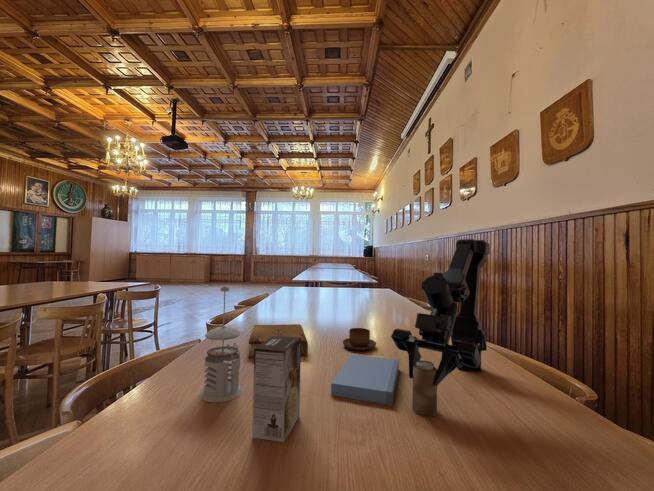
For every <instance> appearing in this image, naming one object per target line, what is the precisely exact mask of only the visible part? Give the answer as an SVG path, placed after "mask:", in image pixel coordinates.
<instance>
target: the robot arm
mask: <svg viewBox="0 0 654 491" xmlns="http://www.w3.org/2000/svg"><path fill="white" fill-rule="evenodd" d="M455 244H456V245H455V251H454V253H453V257H452V258H451V262H450V264H449V266H448V269H447V270H446V271H444V272H434V273H433V275H432V276H429V277H426V278H425V279H424V280H423V281H422V282H421V284H420V285H421V289H422V291H423V294H424V297H425V299H426V301H427V304H428V306H430V308H431V311H430V314H428V313H427V314H426V313H421V312H418V313H417V314H416V319H415V323H414V324H415V325H414V328H415V329H418V334H419V336H421V338H419V337H417V336H414V335H413V334H412V332H411V330H407V329H402V328H399V327H398V328H395V329H393V331H392V333H391V335H390V337H391V339H392V341H393V342H394V344H395V346H396V348H397V349H398V350H400V351H402V352H403V351H404V352H407V355H408V377H409V379H411V380H413V366H414V365H416V362H417V361H421V358H422V355H421V354H420V348H421V349H425V350H430V351H434V352H438V353H441V358H440V362H439V365H438V367H437V372H436V375H435V379H434V386H437V387H438V385H439V384H441V382H442V381H444V379H446V377H448V375H449V374H450V373H452V372H453V371H454V370H456V369H458V370H461V371H468V372H475V373H483V369H482V352H484V351H487V349H488V348H487V346H488V345H487V340H486V339H487V338H486V335H485V332H484V330H483V324H482V322H481V321H480V319H479V317H478V305H479V304H478V303H479V290H480V278H481V268H483V267H484V265H485V264H486V263H487V261H488V256H489V255H490V251H491V250H490V249H491V247H490V243H488V242H487V241H486V240H485V239H472V238H468V239H467V238H464V239H463V238H461V239H458V240H456V243H455ZM457 303H460V311H459V307H458V305H457ZM458 311H459V313H458ZM450 339H451V340H450ZM450 341H451V344H449V343H450Z"/></svg>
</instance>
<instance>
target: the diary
mask: <svg viewBox="0 0 654 491" xmlns="http://www.w3.org/2000/svg"><path fill="white" fill-rule="evenodd" d="M272 336H285V337H301V358H303V357H304V358H305V357H307V356H308V353H309V352H308V350H309V349H308V348H309V344H308V343H309V342H308V339H307V337H306V334H305V332H304V329H303V326H302V325H301V323H300V324H299V323H298V324H297V323H295V324H254V325H253V327H252V330H251V334H250V336H249V340H248V345H250V349H249V352H248V358H247V359H254V348H256V347H257V346H259V345H260V344H262V343H263V342H265V341H266V340H267V339H269V338H270V337H272Z"/></svg>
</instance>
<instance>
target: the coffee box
mask: <svg viewBox="0 0 654 491" xmlns="http://www.w3.org/2000/svg"><path fill="white" fill-rule="evenodd" d="M301 358H302V357H301V337H285V336H272V337H270V338H269V339H267V340H266V341H265V342H263V343H262V344H260V345H259V346H257V347H256V348H254V358H253V385H252V386H253V388H252V390H253V392H252V393H253V395H252V399H253V400H252V431H251V436H252V438H253V439H259V440H267V441H274V442H278V443H279V442H280V443H284V442H285V441H286V440H287V438H288V437H289V435H290V433H291V431H292V429H293V428H294V426H295V425H296V422H297V421H298V419H299V417H300V405H301V404H300V403H301V402H300V401H301V400H300V398H301V394H300V392H301V391H300V390H301Z"/></svg>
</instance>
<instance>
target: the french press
mask: <svg viewBox="0 0 654 491" xmlns="http://www.w3.org/2000/svg"><path fill="white" fill-rule="evenodd" d="M229 291H230V288H229V287H228V286H226V285H224V286H223V285H222V286H221V287H220V292H223V318H222V319H223V320H222V321H223V322H222V324H223V325H221V326H217V327H215V328H213V329H210V330H209V331H207V332H206V333H205V335H204V337H205V338H206V339H207V340H211V341H222V345H221V346H216V347H212V348H210V349H208V350H207V351H206V355H207V356H205V357H204V373H205V375H204V376H203V378H204V379H205V380H204V381H203V384H204V385H203V389H202V390H201V391H200V392H199V394H198V396H199V399H200V400H202V401H204V402H208V403H223V402H228V401H231V400H234V399H236V398H238V397H240V395H241V394H243V390H244V389H243V387H242V386H241V385H240V384H239V380H240V366H241V355H240V349H239V345H237V343H236V342H234V343H233V346H230V344H229V343H228V344H226V345H225V343H224V342H225V341H227V340H233V339H236V338H238V337H240V335H241V334H242V331H240V330H239V329H237V328H236V327H232V326H227V325H225V313H226V311H225V310H226V292H229ZM224 345H225V346H224ZM224 361H225V362H224ZM229 362H231V363H229ZM206 367H207V368H206ZM229 367H230V368H229ZM229 377H230V378H229Z"/></svg>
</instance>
